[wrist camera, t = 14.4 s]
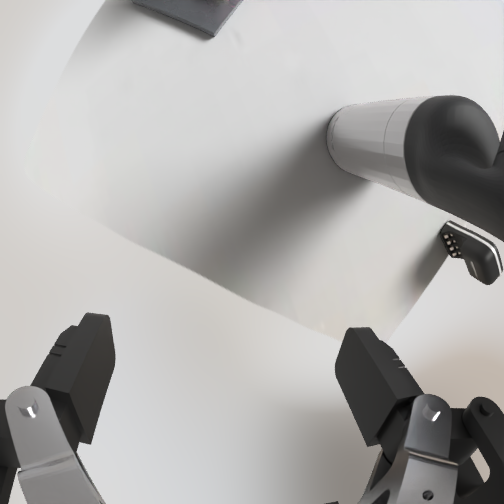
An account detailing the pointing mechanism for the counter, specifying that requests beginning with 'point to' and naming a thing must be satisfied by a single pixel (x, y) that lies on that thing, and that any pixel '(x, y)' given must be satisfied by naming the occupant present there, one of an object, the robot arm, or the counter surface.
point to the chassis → (195, 12)
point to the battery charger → (473, 252)
